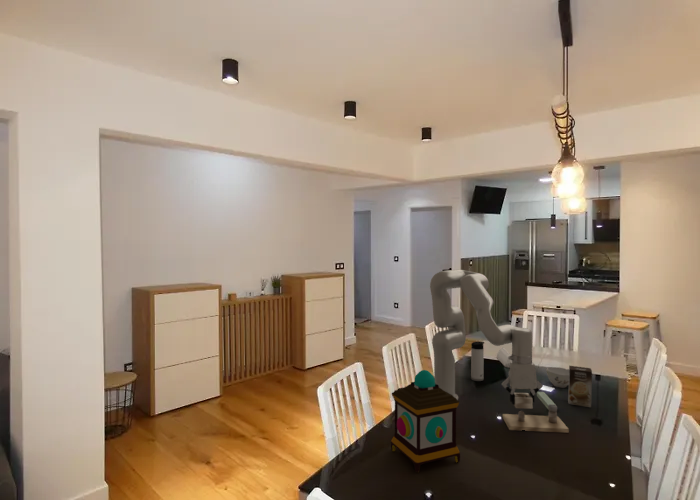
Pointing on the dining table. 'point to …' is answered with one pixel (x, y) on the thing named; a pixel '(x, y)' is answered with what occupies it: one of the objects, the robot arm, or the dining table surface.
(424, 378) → the decorative lantern
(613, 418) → the dining table surface
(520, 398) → the collar
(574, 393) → the coffee box
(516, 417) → the pintle board
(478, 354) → the travel mug
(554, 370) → the teacup
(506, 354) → the crystal
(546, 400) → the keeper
